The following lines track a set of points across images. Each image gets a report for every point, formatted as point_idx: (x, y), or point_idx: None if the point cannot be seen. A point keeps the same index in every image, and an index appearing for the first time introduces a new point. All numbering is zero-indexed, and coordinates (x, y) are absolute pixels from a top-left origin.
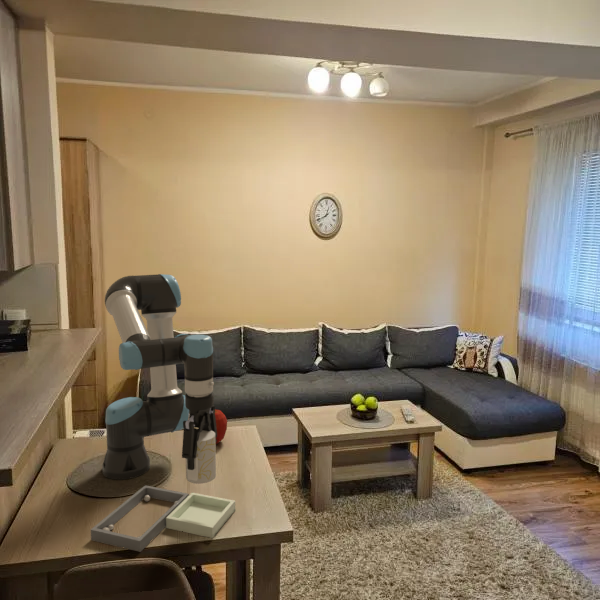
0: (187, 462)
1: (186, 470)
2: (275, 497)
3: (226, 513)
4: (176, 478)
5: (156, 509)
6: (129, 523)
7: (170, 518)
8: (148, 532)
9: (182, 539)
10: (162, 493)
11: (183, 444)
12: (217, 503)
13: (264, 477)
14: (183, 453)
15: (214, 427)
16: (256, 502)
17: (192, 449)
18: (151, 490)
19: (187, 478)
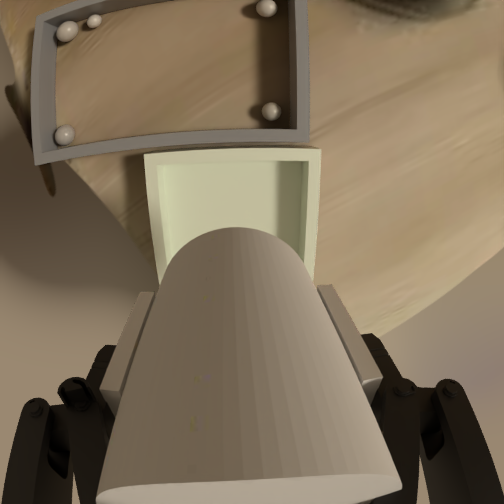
0: (87, 377)
1: (166, 279)
2: (377, 337)
3: None
4: (412, 43)
5: (231, 61)
6: (136, 39)
7: (146, 170)
8: (66, 158)
9: (129, 224)
10: (294, 45)
11: (10, 481)
12: (301, 245)
13: (454, 278)
14: (24, 430)
15: (429, 492)
16: (351, 313)
17: (67, 484)
18: (293, 5)
19: (167, 267)
